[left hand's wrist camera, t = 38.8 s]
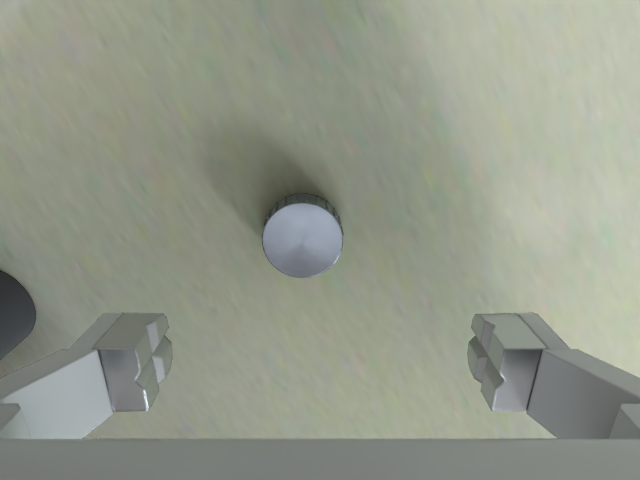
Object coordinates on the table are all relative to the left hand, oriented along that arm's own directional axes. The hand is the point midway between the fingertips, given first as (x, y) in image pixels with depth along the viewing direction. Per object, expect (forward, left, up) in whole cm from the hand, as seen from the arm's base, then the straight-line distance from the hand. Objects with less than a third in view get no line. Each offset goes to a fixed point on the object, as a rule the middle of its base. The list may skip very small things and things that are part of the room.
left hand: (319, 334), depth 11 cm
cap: (+1, 0, -8) cm, 8 cm away
